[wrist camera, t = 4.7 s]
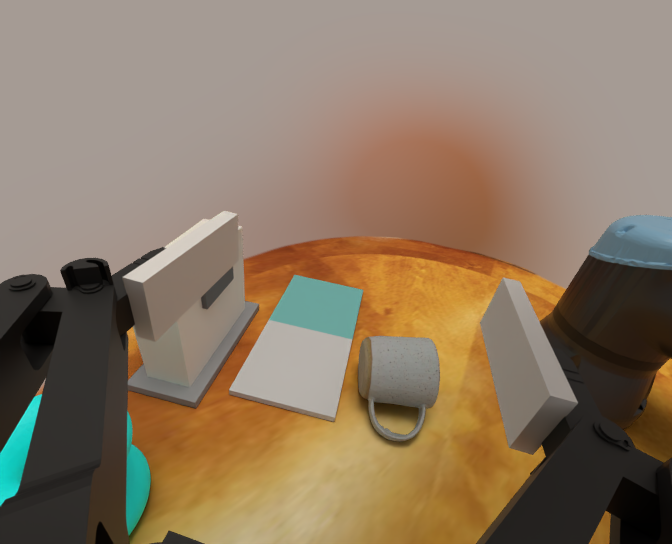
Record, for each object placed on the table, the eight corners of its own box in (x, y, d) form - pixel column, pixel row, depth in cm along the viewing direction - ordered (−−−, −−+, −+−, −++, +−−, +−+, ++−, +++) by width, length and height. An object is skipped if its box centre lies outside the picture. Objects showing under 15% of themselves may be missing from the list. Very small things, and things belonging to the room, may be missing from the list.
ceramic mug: (354, 362, 42) (364, 318, 38) (415, 367, 43) (432, 325, 38) (357, 443, 34) (371, 399, 29) (434, 449, 34) (459, 406, 30)
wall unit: (259, 309, 48) (258, 224, 41) (196, 408, 34) (177, 306, 27) (208, 297, 49) (199, 211, 42) (127, 389, 35) (89, 285, 27)
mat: (362, 293, 55) (363, 289, 54) (334, 422, 35) (335, 417, 35) (294, 278, 56) (294, 274, 56) (229, 394, 36) (229, 390, 36)
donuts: (34, 368, 25) (158, 394, 24) (75, 439, 30) (177, 462, 30) (-146, 519, 17) (36, 565, 16) (-45, 580, 22) (93, 615, 21)
